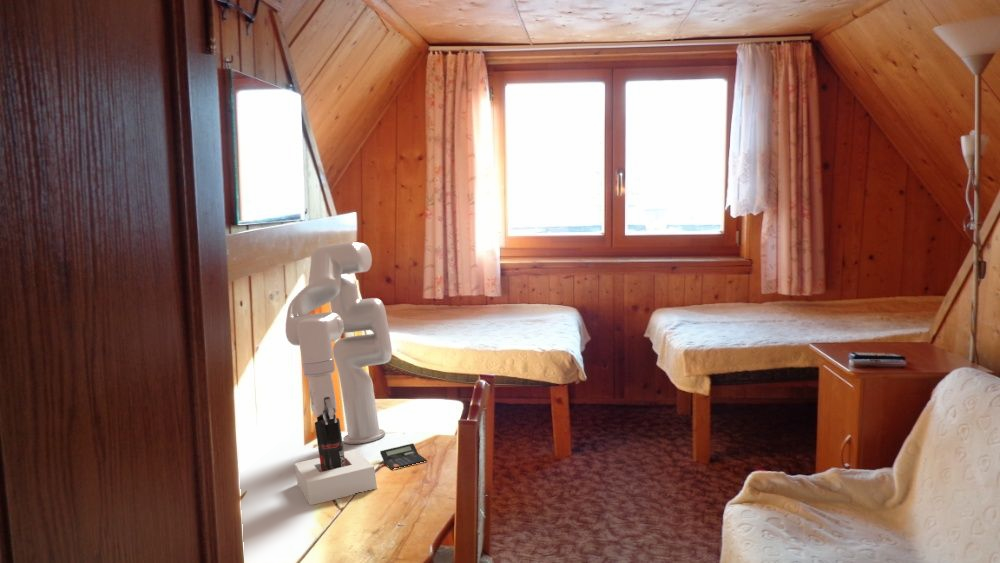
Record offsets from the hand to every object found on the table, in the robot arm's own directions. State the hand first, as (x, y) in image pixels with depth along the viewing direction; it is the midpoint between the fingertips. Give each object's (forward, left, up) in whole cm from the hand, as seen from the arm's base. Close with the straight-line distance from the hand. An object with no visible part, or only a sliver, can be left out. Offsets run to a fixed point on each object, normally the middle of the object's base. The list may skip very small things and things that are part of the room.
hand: (329, 435), depth 193 cm
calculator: (-7, +20, -13) cm, 25 cm away
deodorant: (0, 0, -12) cm, 12 cm away
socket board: (+1, 0, -13) cm, 13 cm away
